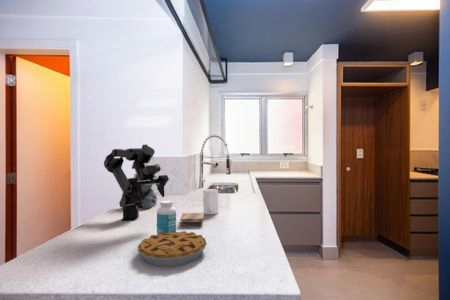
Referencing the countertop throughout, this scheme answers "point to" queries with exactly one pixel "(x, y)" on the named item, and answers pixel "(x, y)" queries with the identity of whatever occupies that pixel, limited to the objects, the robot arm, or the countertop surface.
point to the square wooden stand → (192, 218)
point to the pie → (172, 248)
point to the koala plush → (148, 195)
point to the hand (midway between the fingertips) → (154, 198)
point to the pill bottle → (166, 217)
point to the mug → (210, 201)
